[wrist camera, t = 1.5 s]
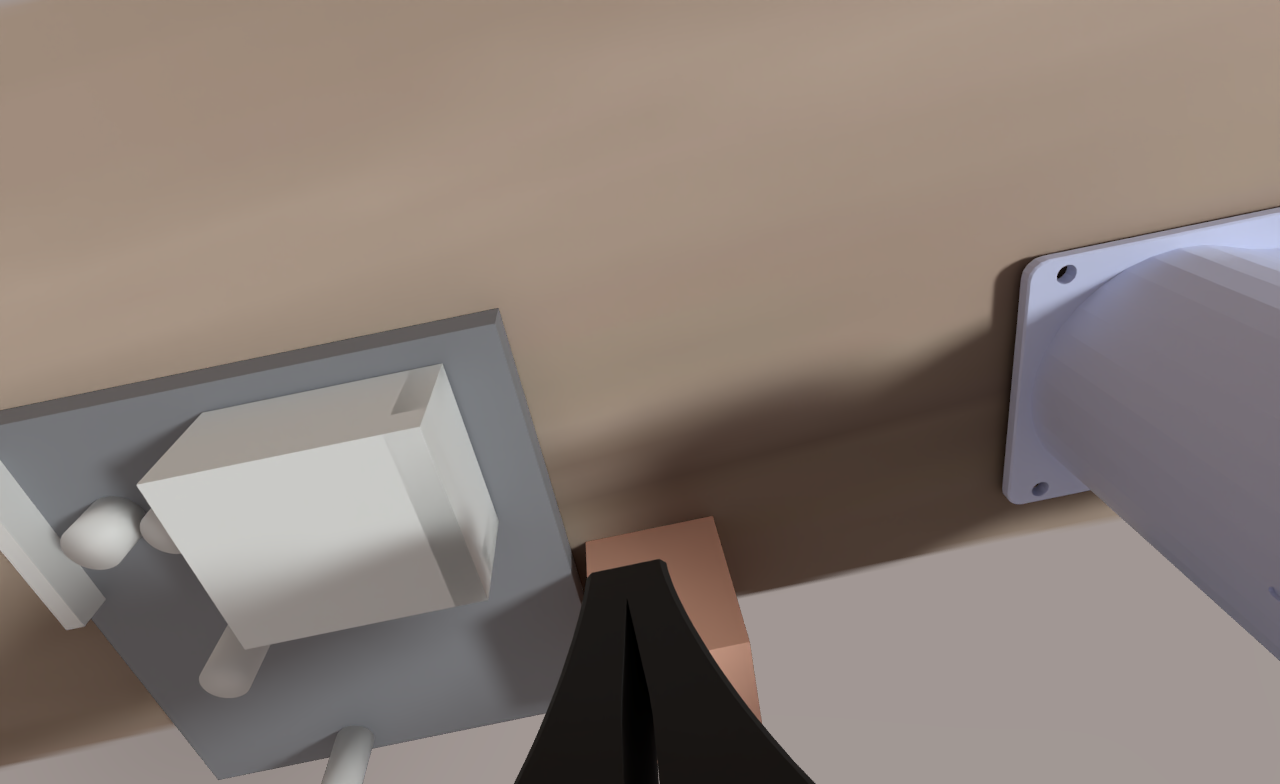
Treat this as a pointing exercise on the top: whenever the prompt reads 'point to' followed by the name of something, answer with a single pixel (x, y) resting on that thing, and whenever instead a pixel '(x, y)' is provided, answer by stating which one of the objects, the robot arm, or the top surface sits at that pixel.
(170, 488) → the cover
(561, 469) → the top surface
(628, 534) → the block
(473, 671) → the deck
